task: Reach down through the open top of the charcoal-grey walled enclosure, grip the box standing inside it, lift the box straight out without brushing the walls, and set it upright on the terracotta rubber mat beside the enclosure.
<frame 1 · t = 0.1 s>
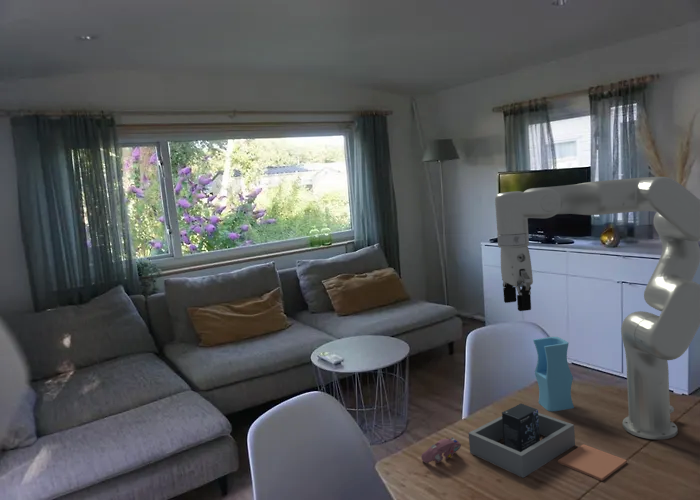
hand: (517, 306, 132), 37 cm above the table, tool pointing down, fingers open, 9 cm apart
video game controller: (442, 460, 132), on the table
enclosure: (522, 448, 132), on the table
mat: (592, 462, 123), on the table
box: (522, 449, 132), resting in enclosure
vase: (555, 405, 155), on the table
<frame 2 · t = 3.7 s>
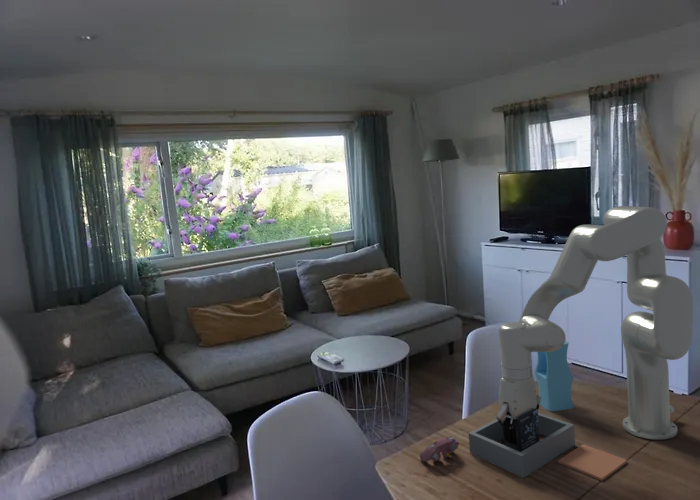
hand: (521, 435, 132), 4 cm above the table, tool pointing down, fingers closed on box, 8 cm apart
box: (522, 449, 132), resting in enclosure, touching gripper
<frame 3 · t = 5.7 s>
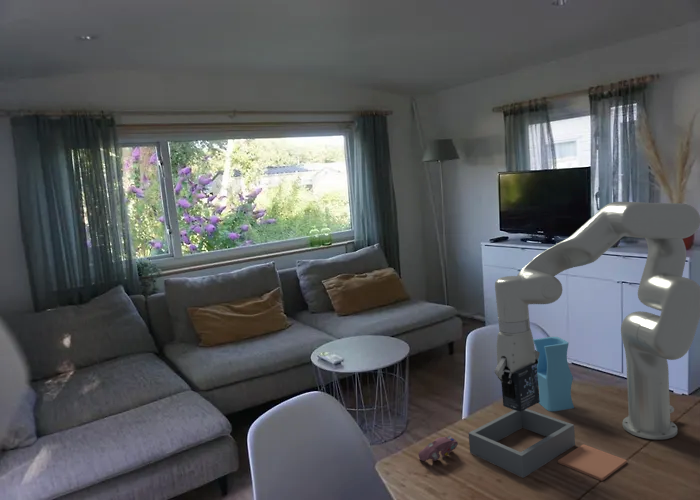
hand: (520, 391, 131), 16 cm above the table, tool pointing down, fingers closed on box, 8 cm apart
box: (521, 405, 131), point 12 cm above the table, touching gripper
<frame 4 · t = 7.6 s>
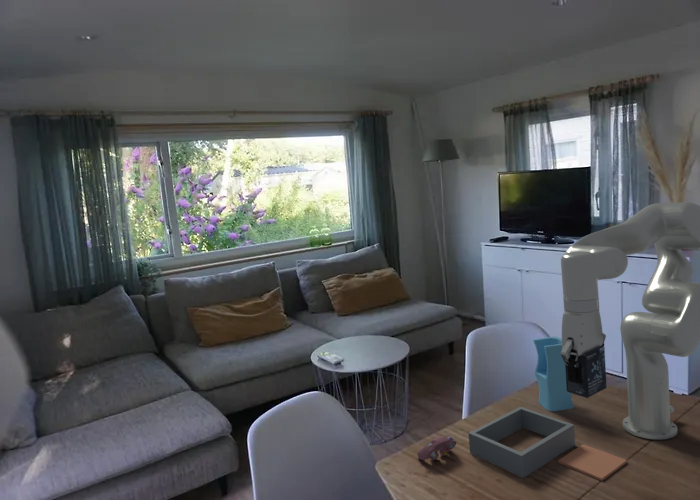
hand: (585, 376, 121), 22 cm above the table, tool pointing down, fingers closed on box, 8 cm apart
box: (586, 391, 121), point 18 cm above the table, touching gripper
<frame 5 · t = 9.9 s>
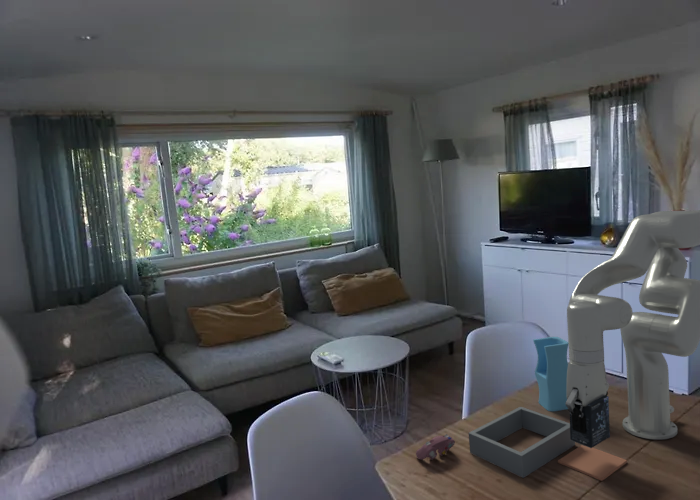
hand: (589, 425, 122), 10 cm above the table, tool pointing down, fingers closed on box, 8 cm apart
box: (590, 440, 122), point 6 cm above the table, touching gripper
when the fingers open (5 cm above the table, at t = 11.9 s): box drops 1 cm, resting on mat.
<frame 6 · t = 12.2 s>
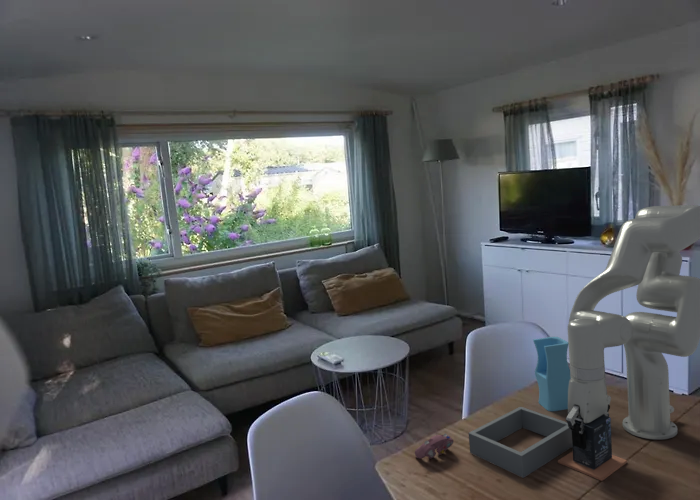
hand: (590, 439, 122), 6 cm above the table, tool pointing down, fingers open, 9 cm apart
box: (592, 460, 123), resting on mat
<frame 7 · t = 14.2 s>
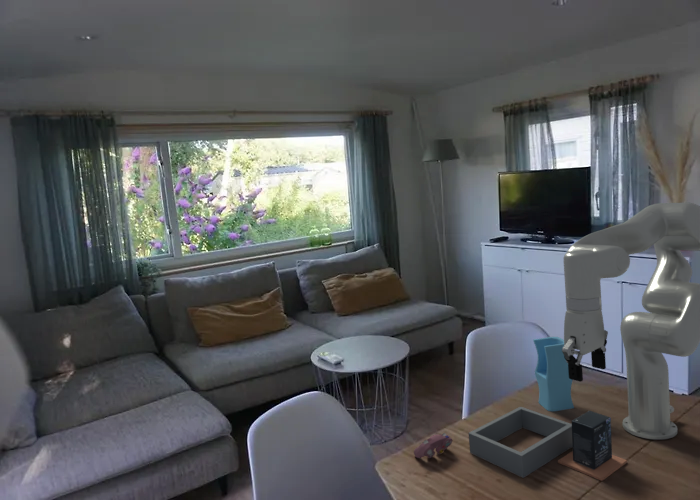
hand: (587, 373, 121), 22 cm above the table, tool pointing down, fingers open, 9 cm apart
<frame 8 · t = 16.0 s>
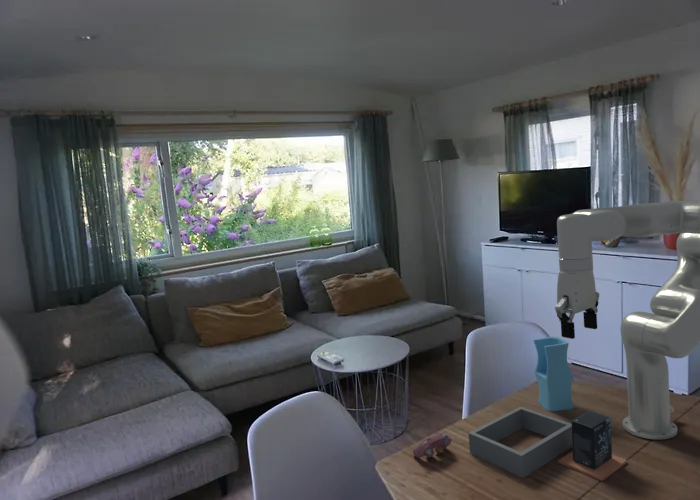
hand: (579, 332, 126), 30 cm above the table, tool pointing down, fingers open, 9 cm apart
at the end: box inside the target area on the mat (0.3 cm from its centre), point 0.4 cm above the mat's base; box tilted 0°; the gripper is holding nothing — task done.
